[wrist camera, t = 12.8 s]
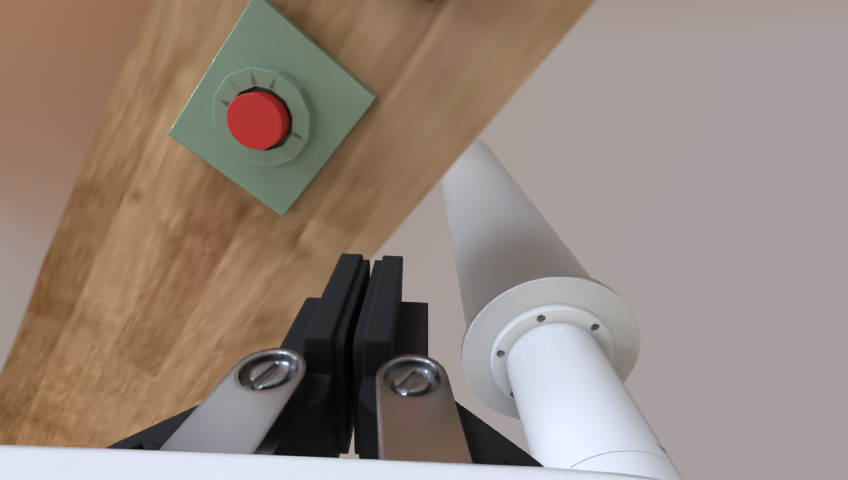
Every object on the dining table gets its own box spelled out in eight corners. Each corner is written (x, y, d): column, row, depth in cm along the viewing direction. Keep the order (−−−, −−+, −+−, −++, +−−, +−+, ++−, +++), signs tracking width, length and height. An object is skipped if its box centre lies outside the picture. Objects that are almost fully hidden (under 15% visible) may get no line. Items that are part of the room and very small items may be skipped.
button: (271, 155, 30) (262, 160, 28) (227, 121, 29) (215, 125, 28) (299, 116, 29) (292, 119, 27) (255, 79, 28) (245, 81, 26)
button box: (288, 210, 35) (275, 226, 32) (179, 130, 32) (153, 138, 29) (378, 96, 32) (373, 100, 28) (264, -5, 29) (244, -13, 26)
